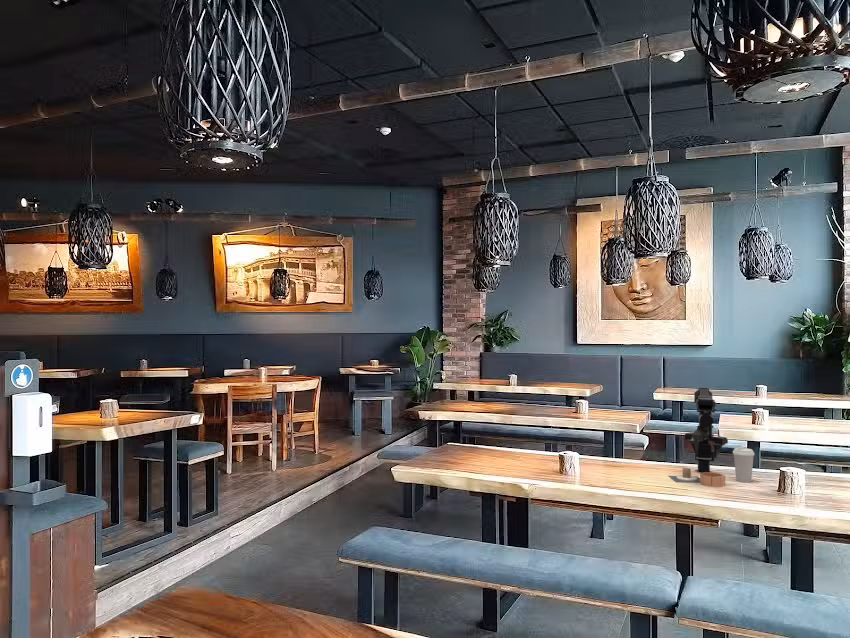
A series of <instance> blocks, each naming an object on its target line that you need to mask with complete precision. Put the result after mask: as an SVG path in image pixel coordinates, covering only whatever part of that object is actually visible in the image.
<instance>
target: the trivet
mask: <svg viewBox="0 0 850 638" xmlns="http://www.w3.org/2000/svg"><path fill="white" fill-rule="evenodd" d="M677 476H678V475H667V477H669V478H670V479H671V480H672V481H673V482H675V483H683V484H684V483H685V484H688V483H689V484H690V483H691V484H701V483H700V476H695V475H693V476H694V477H696V478H697V481H681V480H678V479H677Z"/></svg>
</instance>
